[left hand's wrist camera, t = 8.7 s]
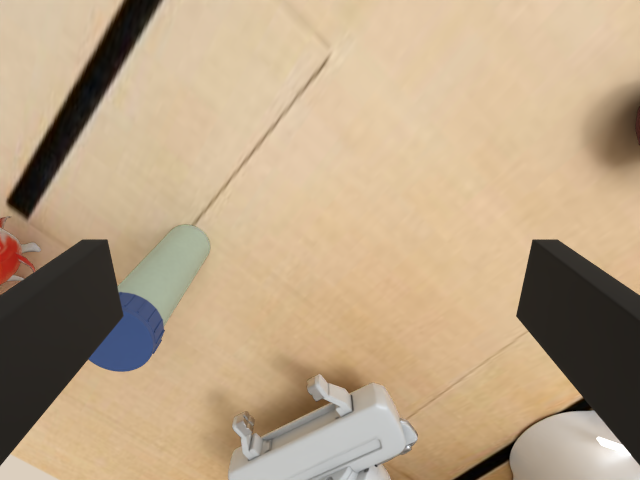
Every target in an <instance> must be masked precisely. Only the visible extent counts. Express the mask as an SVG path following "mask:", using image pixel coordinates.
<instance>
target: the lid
mask: <svg viewBox="0 0 640 480" xmlns="http://www.w3.org/2000/svg"><path fill="white" fill-rule="evenodd" d="M119 296H120V301H121V306H122V310H123V315H124V316H123V318H122V319H121V320H120V321H119V322H118V324H117V325H116V326H115V327H114V329H113V330H112V331H111V332H110V333H109V335H108V336H107V337H106V338H105V339H104V341H103V342H102V343H101V344H100V345H99V347H98V348H97V349H96V350H95V352H94V353H93V354H92V355H91V356H90V358H89V360H90V361H91V362H93V363H94V364H96V365H98V366H99V367H102V368H104V369H108V370H112V371H122V372H124V371H131V370H134V369H137V368H139V367H141V366H142V365H144V364H145V363H146V362H147V361H148V360H149V359H150V357H151V355H152V354H154V353H155V351H156V349H157V348H158V346H159V344H160V343H161V341H162V340H161V338H162V336H163V333H164V331H165V330H164V325H163V319H162V317H161V315H160V313H159V312H158V310H157V309H156V308H155V307H154V306H153V305H152V304H151V303H150V302H149V301H148V300H146V299H144V298H142V297H140V296H138V295H135V294H131V293H125V292H119Z"/></svg>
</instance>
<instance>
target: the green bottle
mask: <svg viewBox="0 0 640 480" xmlns="http://www.w3.org/2000/svg"><path fill="white" fill-rule="evenodd" d="M209 252H210V243H209V240H208V237H207V236H206V234H205V233H204V232H203V231H202V230H200V229H199V228H197V227H195V226H192V225H179V226H177V227H175V228H173V229H172V230H171V231H170V232H169V233H168V234H167V235H166V236H165V237H164V238H163V239H162V240H161V241H160V242H159V243H158V245H157V246H156V247H155V248H154V249H153V250H152V251H151V252H150V253H149V254H148V255H147V256H146V257H145V258H144V259H143V260H142V261H141V262H140V263H139V264H138V265H137V267H136V268H135V269H134V270H133V271H132V272H131V273H130V274H129V275H128V276H127V277H126V278H125V279H124V280H123V281H122V282H121V283H120V284H119V285H118V286H117V287H118V292H125V293H131V294H135V295H138V296H140V297H142V298H144V299H146V300H148V301H149V302H150V303H151V304H152V305H153V306H154V307H155V308H156V309H157V310H158V312H159V313H160V315H161V317H162V319H163V325H164V326H165V324H166V322H167V321H168V319H169V318H170V316H171V314H172V313H173V311H174V309H175V308H176V306H177V305H178V303H179V301H180V300H181V298H182V297H183V295H184V293H185V292H186V290H187V288H188V287H189V285H190V284H191V282H192V280H193V279H194V277H195V276H196V274H197V272H198V271H199V269H200V267H201V266H202V264H203V263H204V261H205V259H206V258H207V256H208V254H209Z"/></svg>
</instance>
